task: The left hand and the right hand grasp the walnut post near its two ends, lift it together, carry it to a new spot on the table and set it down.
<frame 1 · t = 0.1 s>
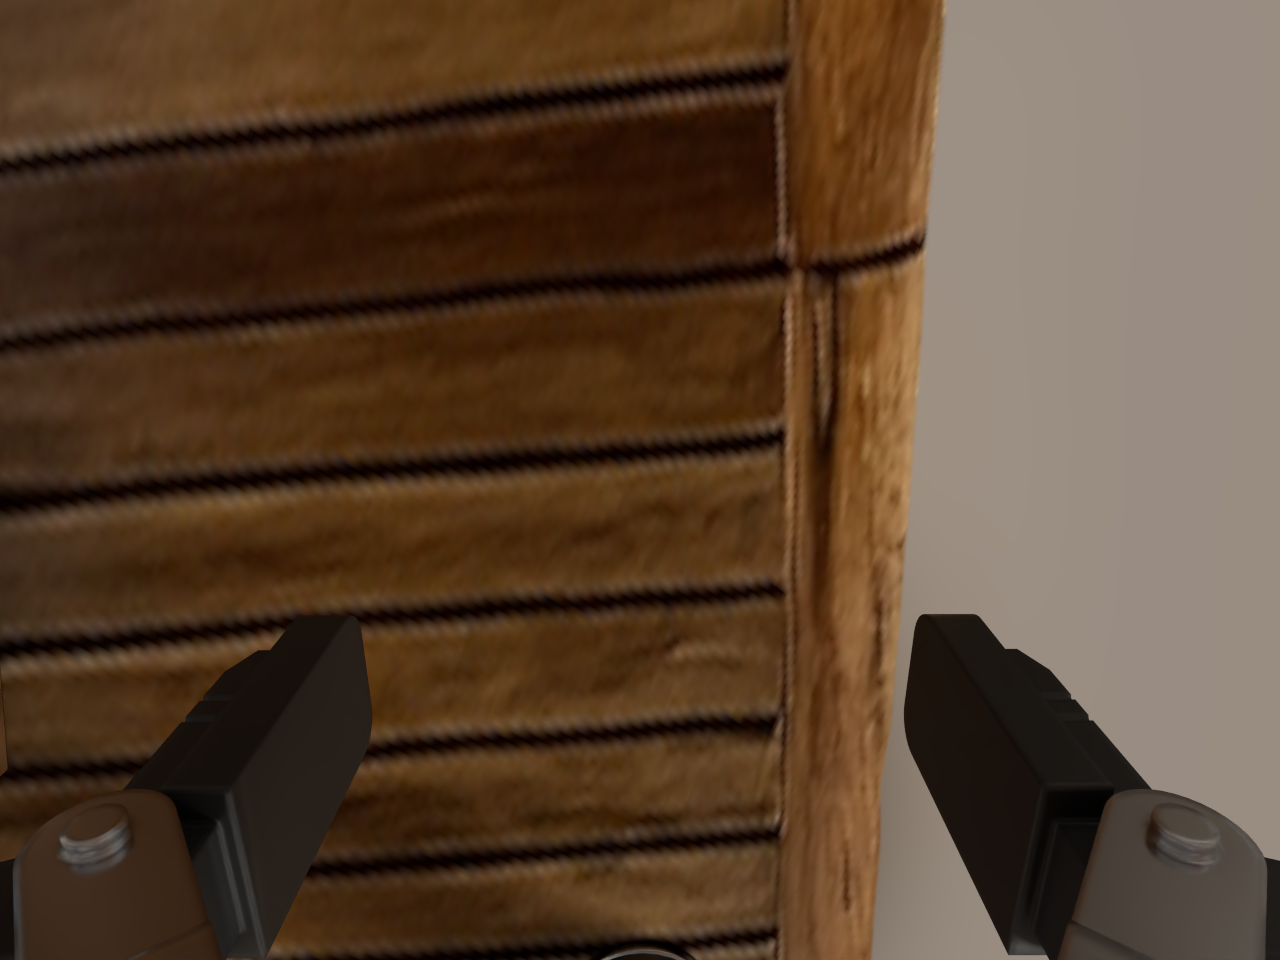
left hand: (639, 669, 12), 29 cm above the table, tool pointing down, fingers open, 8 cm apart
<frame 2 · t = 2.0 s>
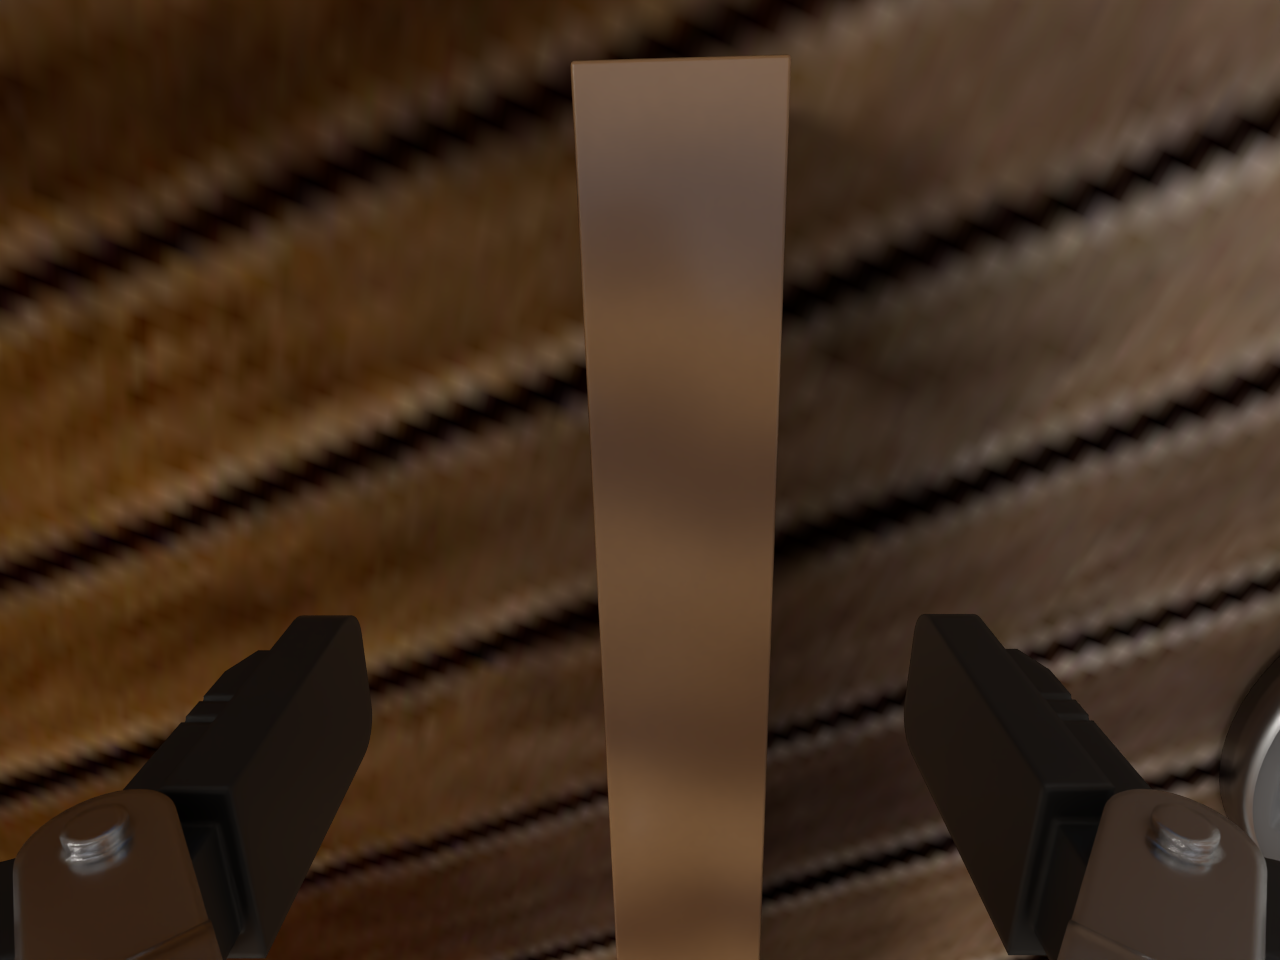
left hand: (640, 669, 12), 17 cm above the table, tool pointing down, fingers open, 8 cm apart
post: (676, 848, 34), on the table
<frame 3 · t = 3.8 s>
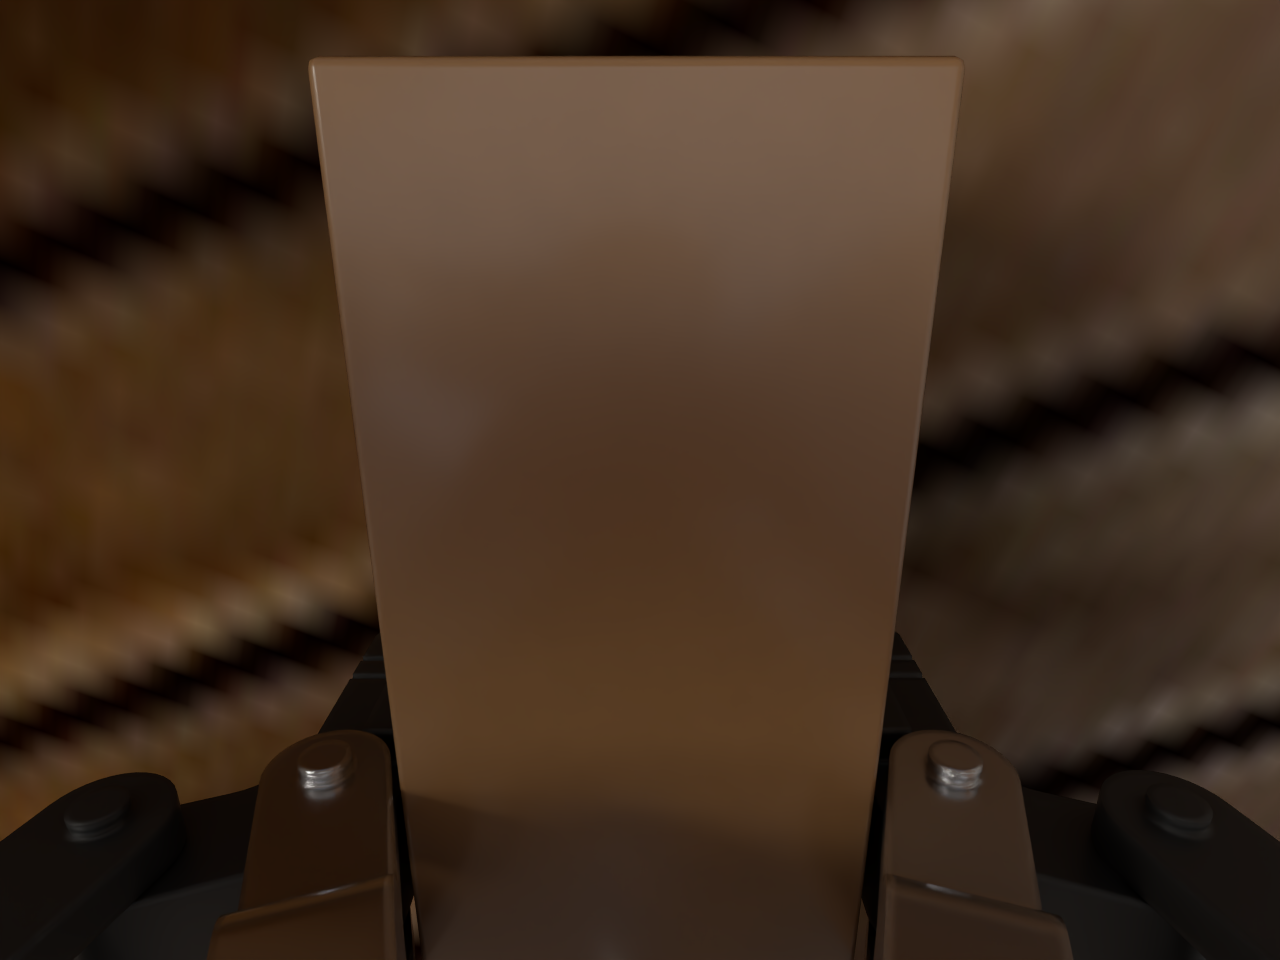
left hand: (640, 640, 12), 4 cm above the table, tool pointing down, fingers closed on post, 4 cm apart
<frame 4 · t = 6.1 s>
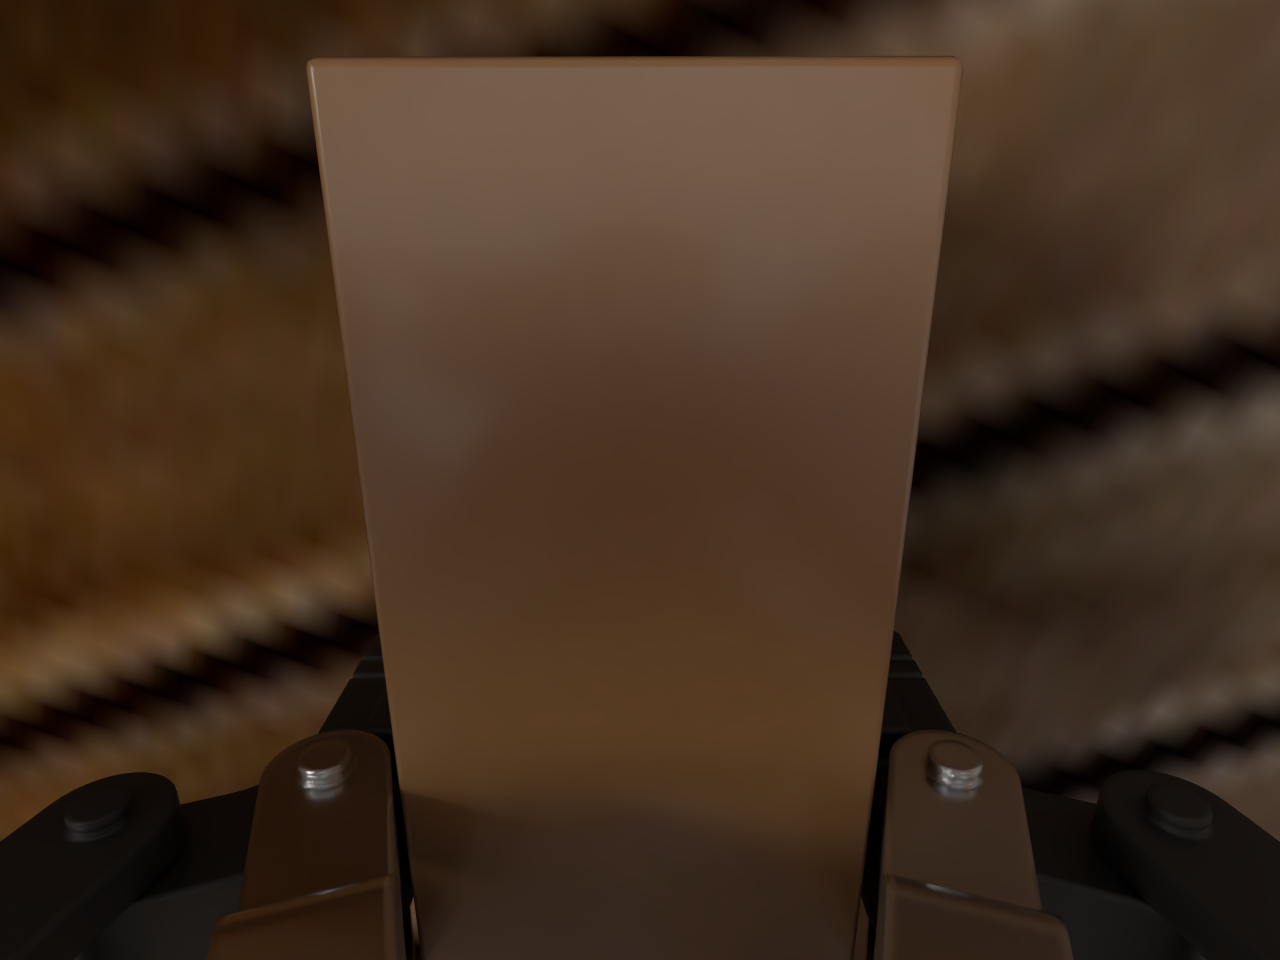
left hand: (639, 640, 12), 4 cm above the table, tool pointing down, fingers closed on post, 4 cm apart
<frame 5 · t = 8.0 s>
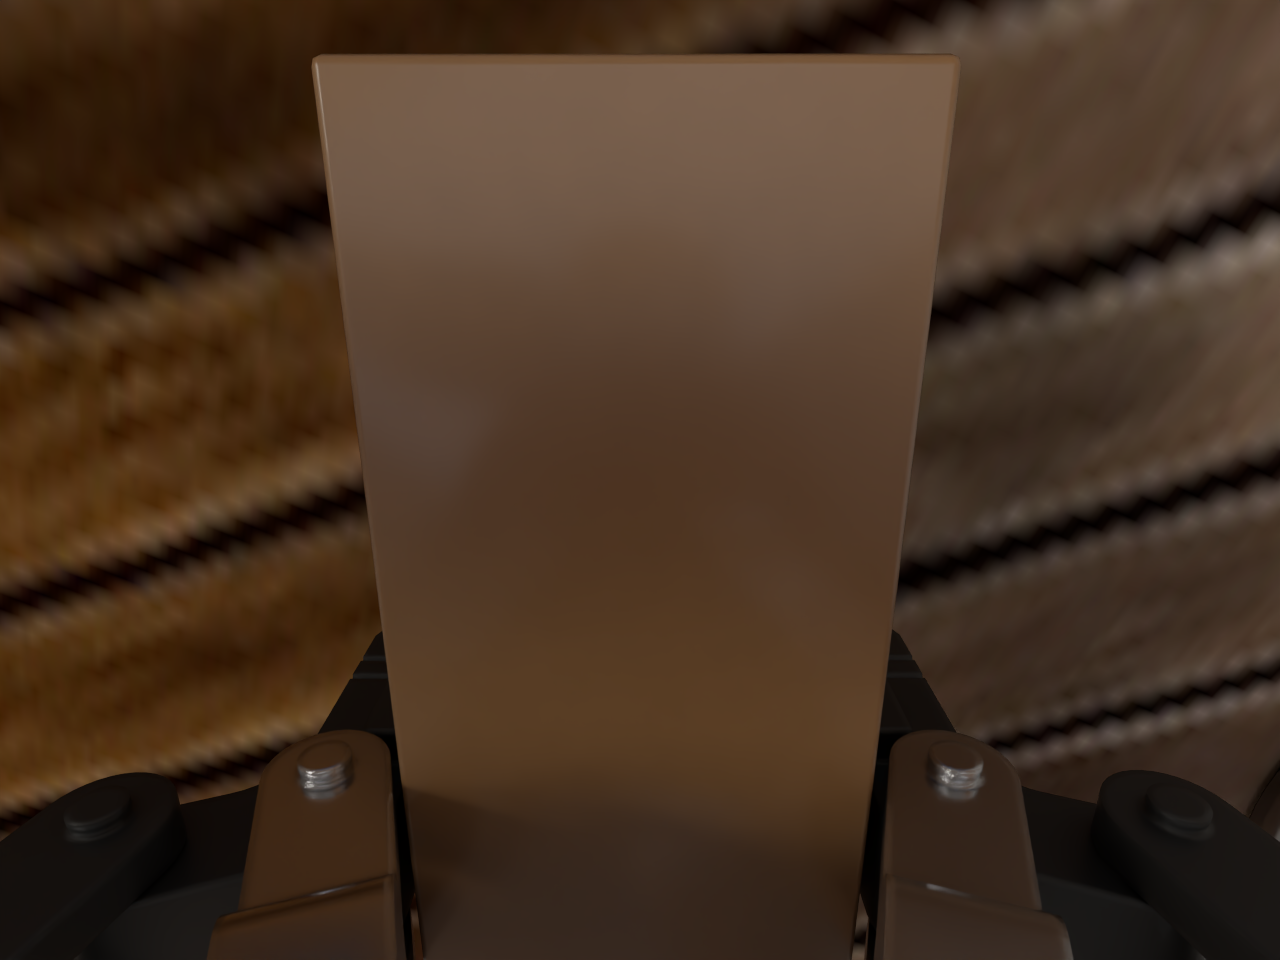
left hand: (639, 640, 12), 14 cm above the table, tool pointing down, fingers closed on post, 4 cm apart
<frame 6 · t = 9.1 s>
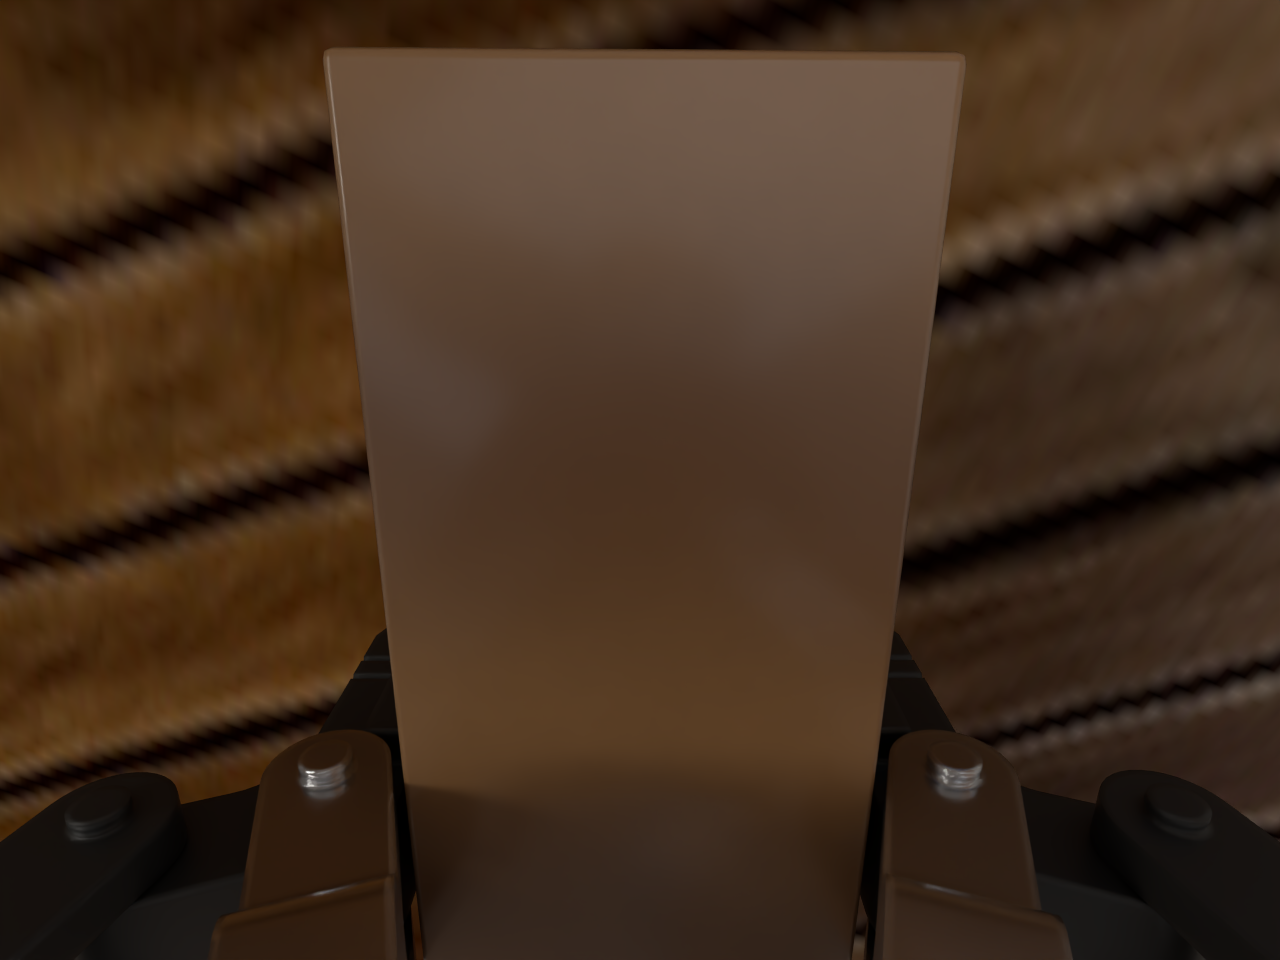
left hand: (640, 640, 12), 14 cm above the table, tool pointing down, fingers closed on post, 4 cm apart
when the right hand's fingers open (2 cm above the table, at t = 12.2 s): post drops 1 cm, on the table.
when the left hand's fingers open (5 cm above the table, at t = 12.3 s): post stays where it is, on the table.
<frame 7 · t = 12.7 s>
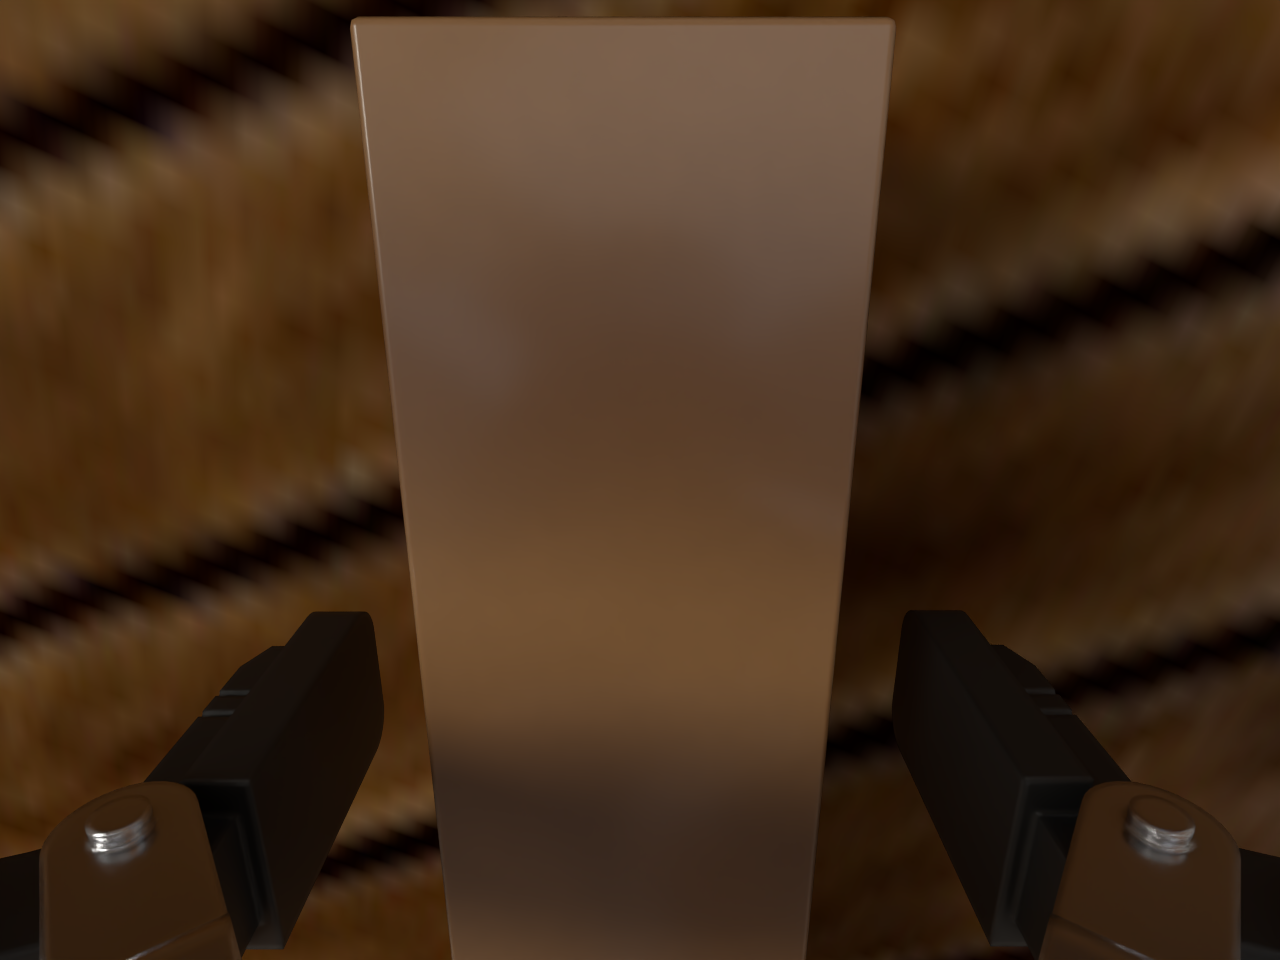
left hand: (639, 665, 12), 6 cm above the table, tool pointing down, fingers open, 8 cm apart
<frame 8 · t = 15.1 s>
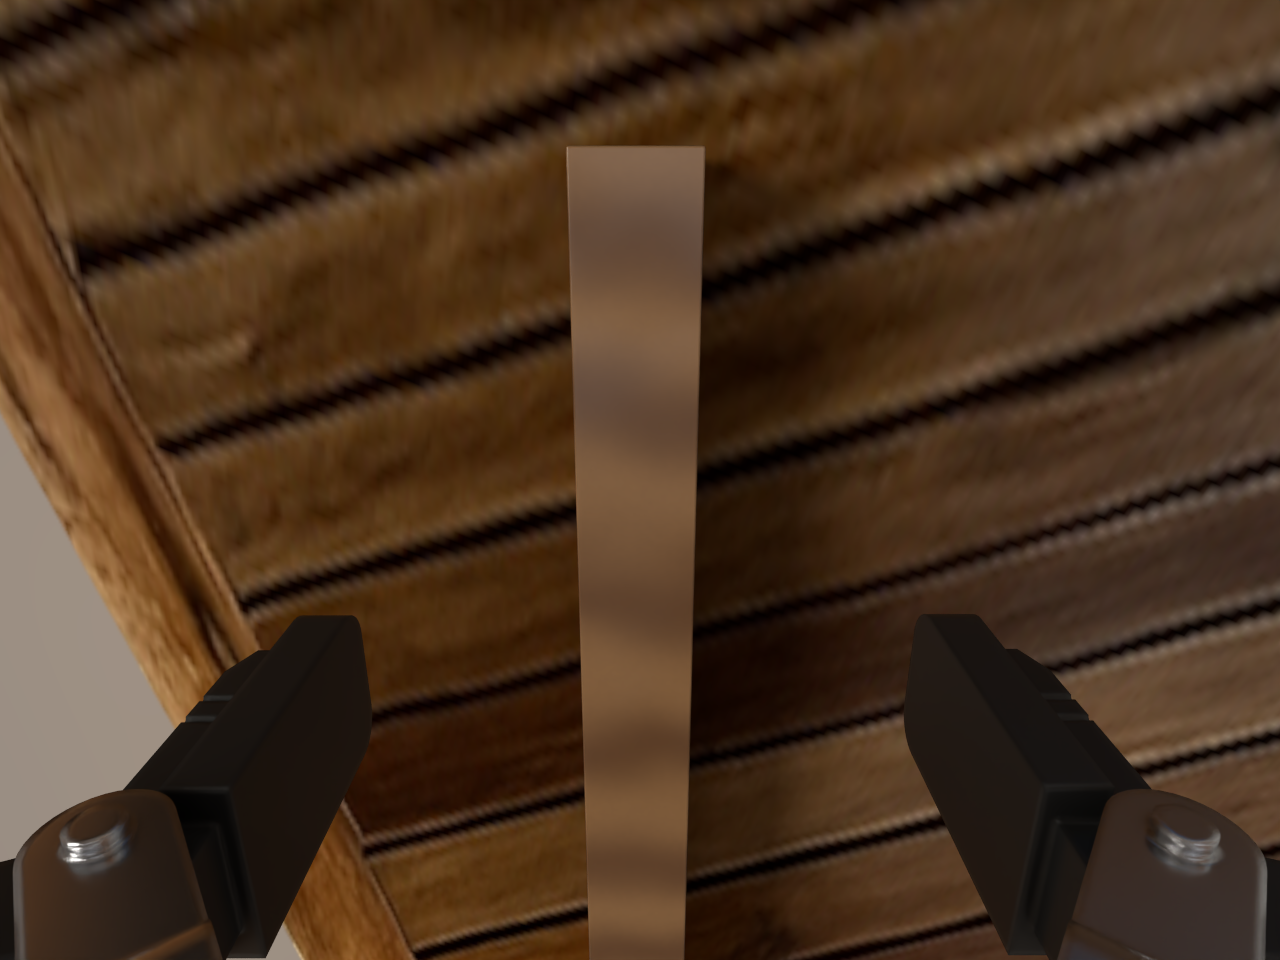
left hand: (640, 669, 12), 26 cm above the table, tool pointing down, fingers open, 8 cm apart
post: (637, 733, 44), on the table
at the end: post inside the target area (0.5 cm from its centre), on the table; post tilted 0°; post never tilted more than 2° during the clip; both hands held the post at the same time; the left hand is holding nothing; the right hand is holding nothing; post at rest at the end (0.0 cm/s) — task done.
